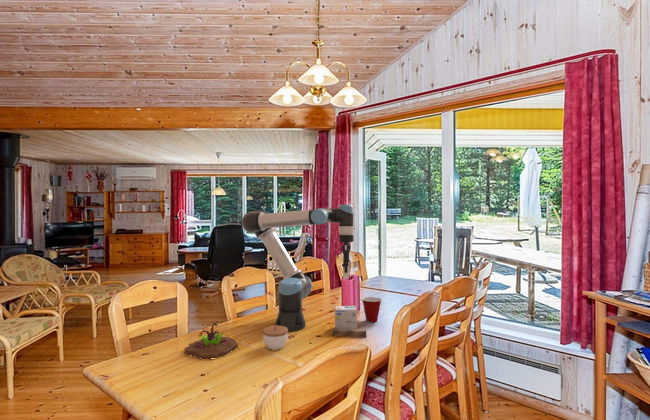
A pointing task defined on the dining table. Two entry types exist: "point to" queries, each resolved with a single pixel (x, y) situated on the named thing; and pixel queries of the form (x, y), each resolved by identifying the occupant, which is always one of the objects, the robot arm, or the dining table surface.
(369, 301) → the plastic cup
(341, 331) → the walnut stop rail
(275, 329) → the lidded jar
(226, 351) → the plant
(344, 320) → the light bulb box
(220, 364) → the dining table surface
